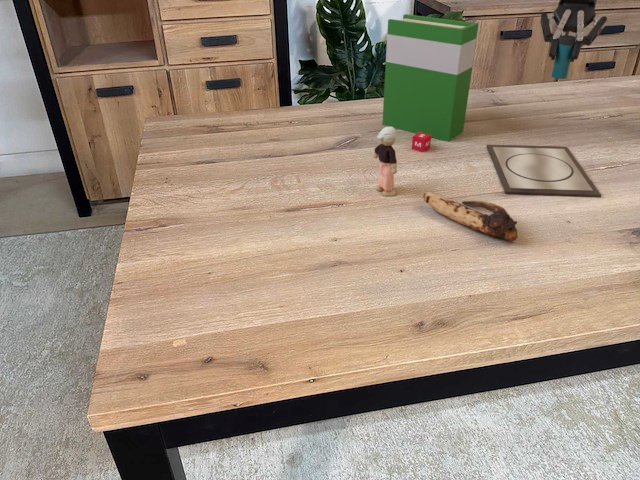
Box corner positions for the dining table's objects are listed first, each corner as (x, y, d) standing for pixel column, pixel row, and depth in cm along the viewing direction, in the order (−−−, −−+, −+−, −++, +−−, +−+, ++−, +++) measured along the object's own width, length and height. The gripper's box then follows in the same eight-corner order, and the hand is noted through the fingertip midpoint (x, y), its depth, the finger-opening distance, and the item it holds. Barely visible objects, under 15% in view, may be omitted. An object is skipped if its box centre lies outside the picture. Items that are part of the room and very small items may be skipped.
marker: (564, 74, 120) (573, 35, 115) (568, 79, 117) (578, 38, 112) (549, 74, 120) (557, 35, 116) (553, 79, 117) (561, 38, 113)
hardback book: (382, 124, 129) (388, 19, 116) (398, 115, 134) (405, 14, 121) (448, 141, 120) (462, 29, 107) (463, 131, 125) (478, 23, 112)
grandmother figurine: (405, 194, 100) (411, 130, 93) (390, 200, 98) (394, 135, 91) (379, 179, 105) (382, 118, 98) (363, 185, 103) (366, 122, 96)
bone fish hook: (533, 231, 89) (443, 193, 100) (540, 207, 87) (447, 171, 97) (505, 252, 84) (413, 210, 94) (511, 227, 81) (416, 186, 92)
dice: (423, 152, 116) (424, 139, 114) (411, 149, 117) (412, 136, 116) (430, 147, 118) (431, 134, 116) (418, 144, 119) (419, 131, 118)
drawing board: (566, 148, 116) (566, 145, 116) (600, 197, 98) (601, 194, 98) (486, 146, 118) (487, 143, 117) (505, 194, 100) (506, 191, 99)
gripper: (548, -25, 116) (528, 46, 114) (619, -22, 111) (601, 52, 109) (545, -2, 123) (527, 65, 121) (613, 1, 118) (595, 71, 115)
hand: (562, 58), depth 115 cm, fingers closed on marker, 3 cm apart
